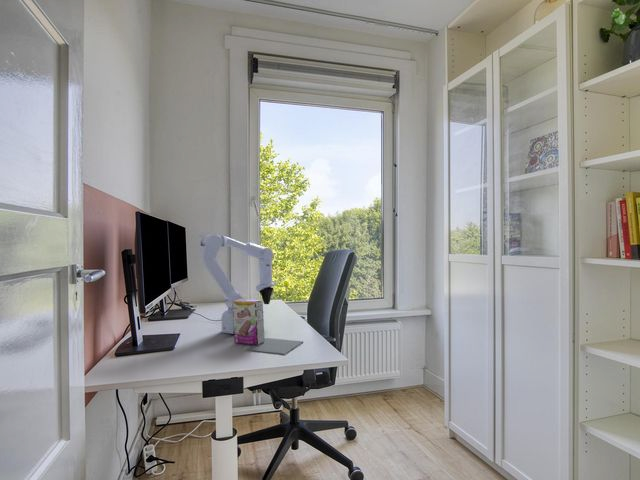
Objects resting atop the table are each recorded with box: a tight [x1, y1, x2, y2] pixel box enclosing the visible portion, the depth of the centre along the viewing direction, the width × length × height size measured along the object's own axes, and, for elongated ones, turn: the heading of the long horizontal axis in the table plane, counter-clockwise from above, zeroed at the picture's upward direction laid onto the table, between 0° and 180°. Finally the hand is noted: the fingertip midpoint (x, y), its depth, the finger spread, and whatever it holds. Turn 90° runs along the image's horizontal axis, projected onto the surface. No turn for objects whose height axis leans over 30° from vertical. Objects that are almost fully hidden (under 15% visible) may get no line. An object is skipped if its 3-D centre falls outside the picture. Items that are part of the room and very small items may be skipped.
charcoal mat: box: [244, 337, 304, 356], centre depth 140 cm, size 16×16×1 cm
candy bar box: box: [232, 298, 265, 346], centre depth 144 cm, size 11×5×16 cm, turn 65°
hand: (266, 303), depth 170 cm, fingers closed
